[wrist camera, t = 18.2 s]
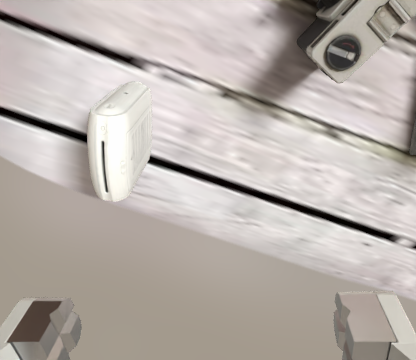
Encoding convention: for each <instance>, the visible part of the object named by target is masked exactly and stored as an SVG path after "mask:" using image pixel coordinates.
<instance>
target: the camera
mask: <svg viewBox="0 0 416 360" xmlns="http://www.w3.org/2000/svg"><path fill="white" fill-rule="evenodd" d="M316 6H317V7H318V8H319V9H320V10H319V11H318V12H317V13H316V16H317V17H318V18H317V19H316V20H315V21H314V22H313V24H312V25H311V26H310V27H309V28H308V29H307V30H306V31H305V32H304V33H303V34H302V35H301V36H300V37H299V39H298V40H297V44H298V46H299V47H300V48H301V49H302V50H303V51H304V52H305V53H306V54H307V55H308V57H309V58H310V59H311V60H313V61H314V62H315V64H316V65H317V66H318V68H319V69H320V70H321V71H323V72H324V73H325V74H326V75H328V76H329V77H330V78H331V79H332V80H334V81H335V82H336V83H343V82H344V81H345V80H346V79H347V78H348V77H349V76H350V75H352V74H353V73H354V72H355V71H356V70H357V69H358V68H359V67H360V66H361V65H362V64H363V63H364V62H366V61H367V60H368V59H369V58H370V57H371V56H372V55H373V54H374V53H375V52H376V51H377V50H379V49H380V48H381V47H382V46H383V44H384V43H385V42H386V41H388V40H389V39H390V37H391V36H392V35H393V34H395V33H396V32H397V31H398V30H399V29H400V28H401V27H402V26H403V25H404V24H405V23H407V22H408V21H409V20H410V19H411V18H413V17H414V16H415V15H416V0H319V1H318V2H317V5H316Z"/></svg>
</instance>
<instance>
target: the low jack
mask: <svg viewBox="0 0 416 360" xmlns="http://www.w3.org/2000/svg"><path fill="white" fill-rule="evenodd" d="M409 153H410V154H411V155H416V116H415V121H414V127H413V133H412V138H411V144H410V149H409Z"/></svg>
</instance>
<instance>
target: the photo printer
mask: <svg viewBox="0 0 416 360" xmlns="http://www.w3.org/2000/svg"><path fill="white" fill-rule="evenodd" d="M151 144H152V96H151V90H150V88H147V86H145V85H144V84H142V83H140V82H136V81H132V82H128V83H126V84H125V85H120V86H118V87H117V88H115V89H114V90H113V91H112V92H110V93H109V94H108V95H107V96H105V97H104V98H103V99H102V100H100V101H99V102H98V103H97V104H96V105H94V106H93V107H92V108H91V109H90V113H89V117H88V126H87V147H88V160H89V168H90V175H91V180H92V184H93V187H94V190H95V192H96V194H97V196H98V197H99V198H100V199H101V200H103V201H105V200H108V201H112V202H117V201H120V200H123V199H125V198H127V197H128V196H129V195H130V194H131V192H132V190H133V188H134V186H135V184H136V182H137V181H138V179H139V177H140V175H141V173H142V171H143V169H144V168H145V166H146V164H147V162H148V160H149V157H150V153H151Z"/></svg>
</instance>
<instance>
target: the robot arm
mask: <svg viewBox="0 0 416 360" xmlns="http://www.w3.org/2000/svg"><path fill="white" fill-rule="evenodd" d="M335 303H336V307H337V310H336V311H335V312H334V331H335V336H336V341H337V344H338V347H339V348H340V349H341V350H342V351H343V356H342V360H416V334H415V332H414V329H413V327H412V325H411V324H410V322H409V319H408V318H407V316H406V314H405V312H404V310H403V308H402V306H401V304H400V302H399V300H398V298H397V296H396V294H395V293H394V292H393V291H377V292H376V291H375V292H371V291H367V292H337V293H336V297H335ZM73 307H74V304H73V302H72V300H71V298H23V299H21V300H20V301H18V303H17V304H16V306H15V307H14V308H13V310H12V311H11V313H10V314H9V316H8V317H7V318H6V320H5V321H4V323H3V324H2V325H1V327H0V360H70V357H69V352H70V351H71V350H72V349H74V347H76V345H77V343H78V341H79V339H80V334H81V320H80V318H79V315H77V314H76V313H75V312H73V311H72V309H73Z"/></svg>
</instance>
